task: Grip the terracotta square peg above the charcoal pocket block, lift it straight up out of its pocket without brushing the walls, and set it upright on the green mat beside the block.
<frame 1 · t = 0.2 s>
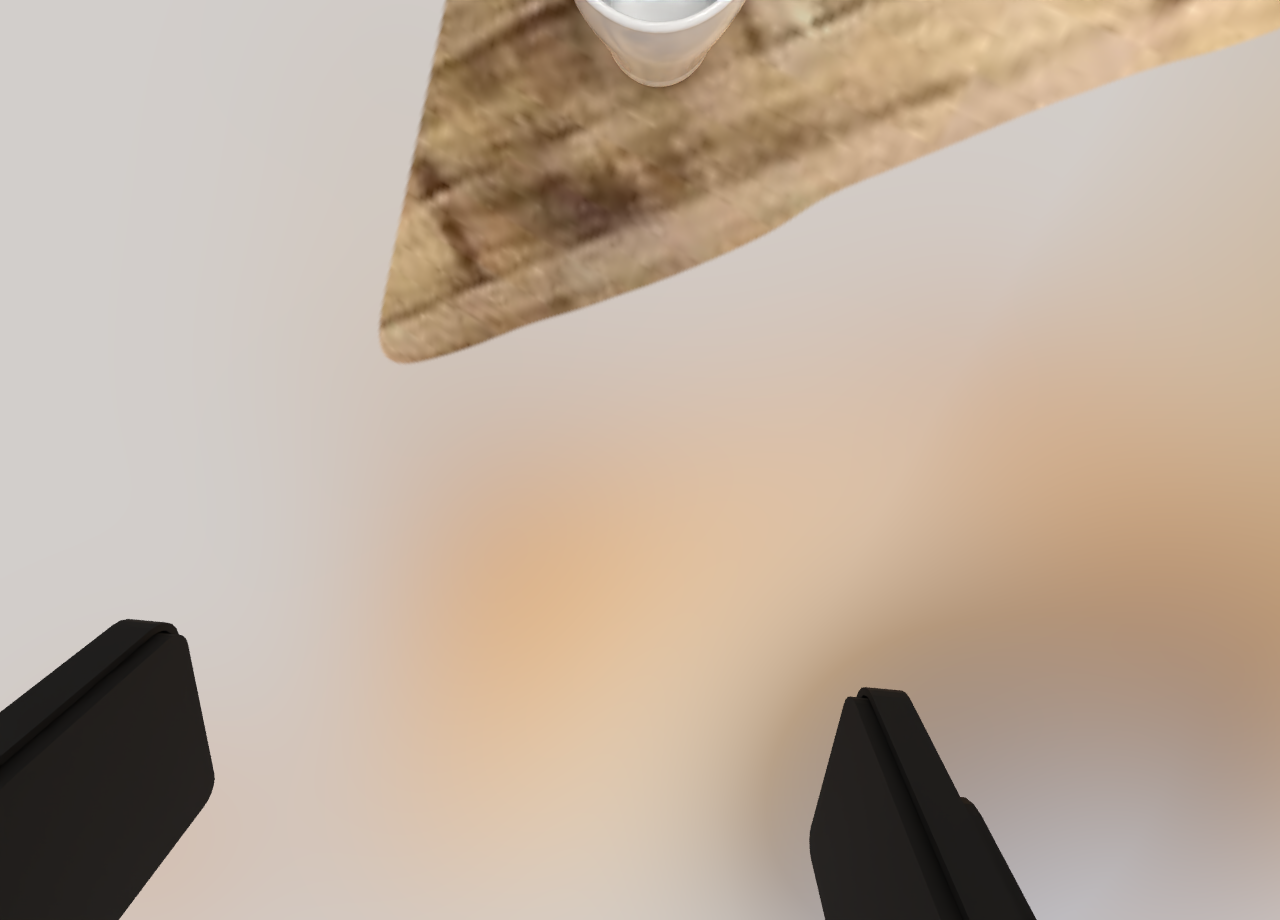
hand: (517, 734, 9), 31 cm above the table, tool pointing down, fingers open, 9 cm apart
drinking glass: (659, 29, 32), on the table
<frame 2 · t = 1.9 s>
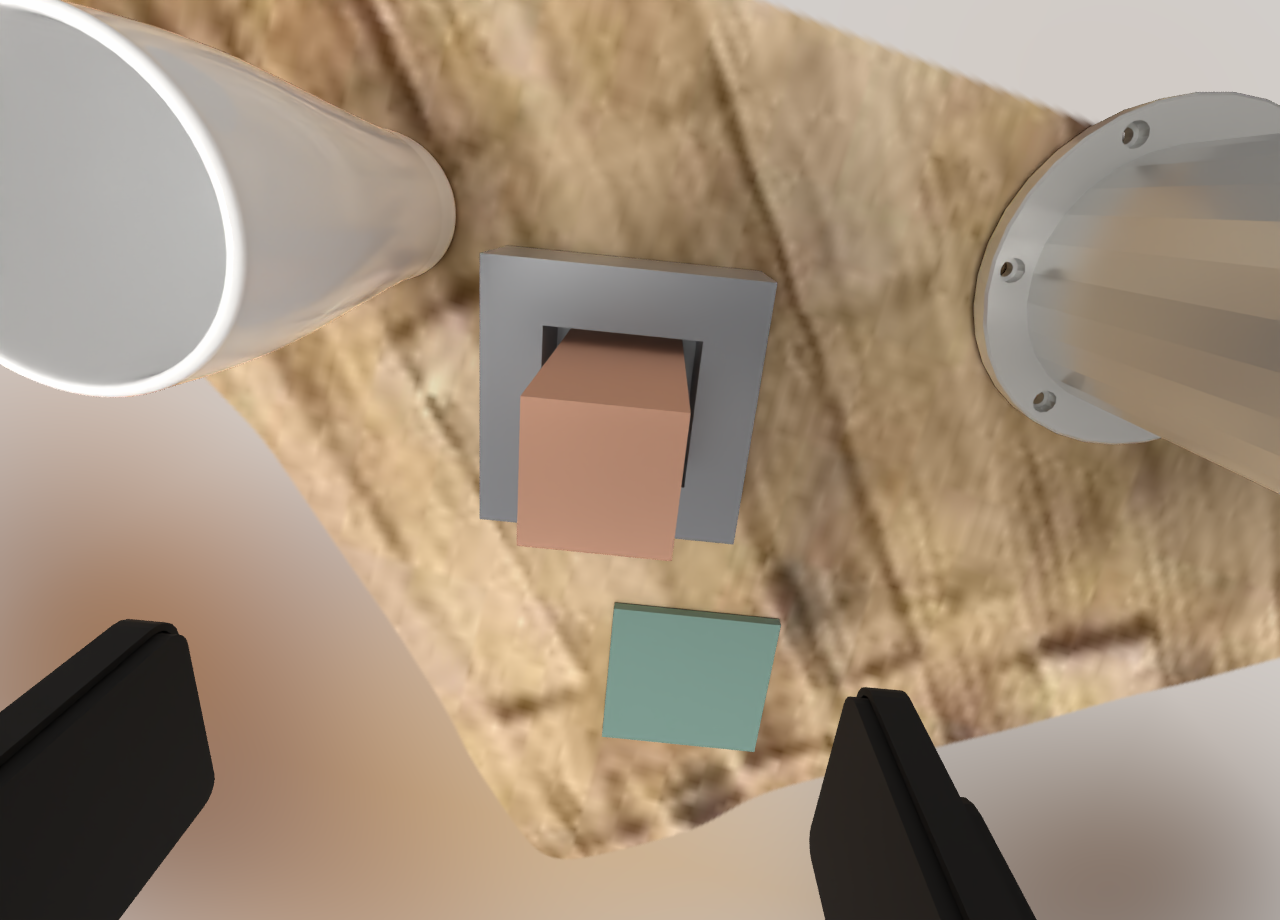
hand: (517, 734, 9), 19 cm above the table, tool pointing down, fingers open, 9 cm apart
mat: (687, 676, 33), on the table
peg: (622, 384, 27), resting on pocket block
pocket block: (623, 381, 27), on the table
drinking glass: (394, 207, 25), on the table
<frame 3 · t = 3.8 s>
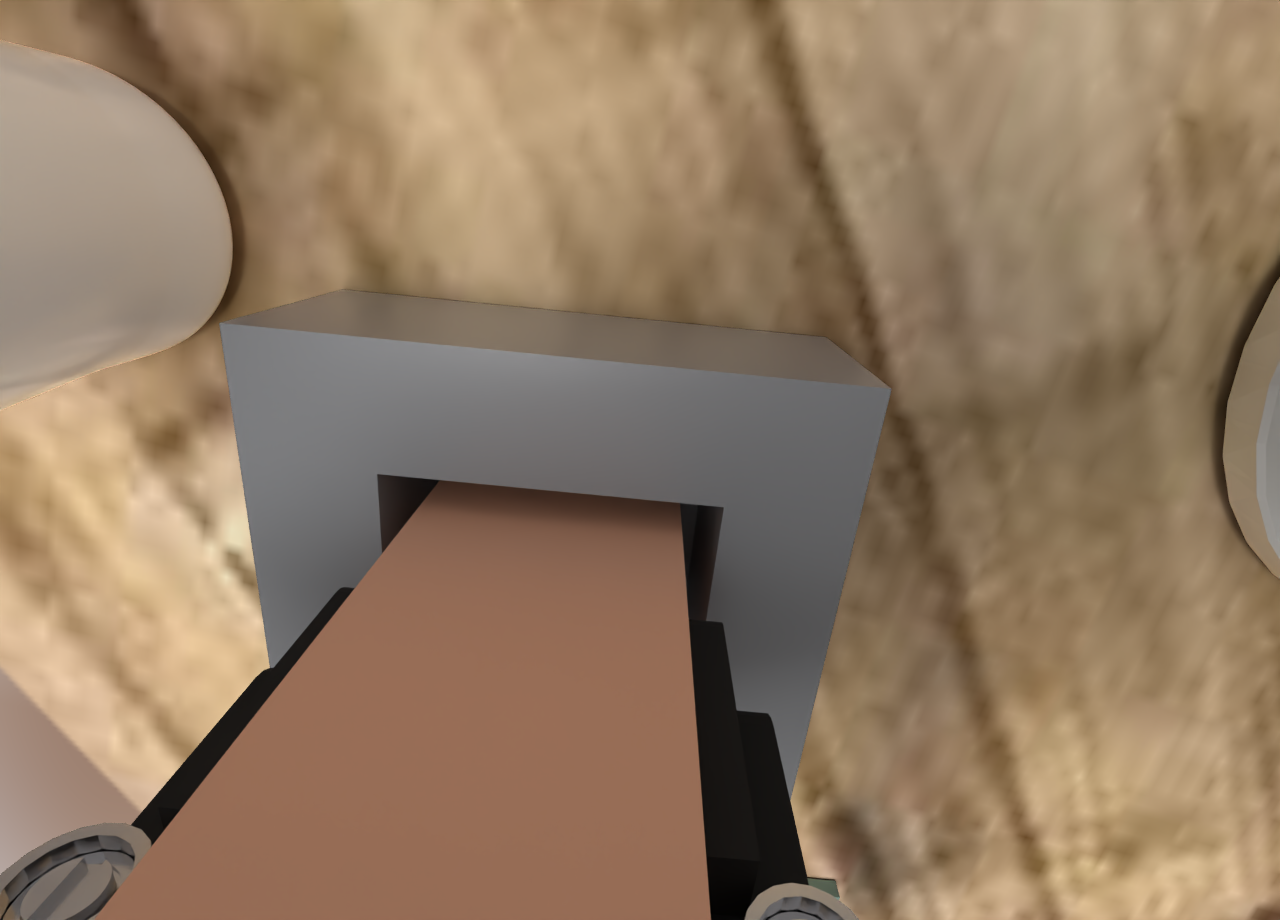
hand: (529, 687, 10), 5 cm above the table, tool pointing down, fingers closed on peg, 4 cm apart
peg: (569, 538, 15), point 1 cm above the table, touching gripper, pocket block
pocket block: (572, 528, 15), on the table
drinking glass: (121, 216, 13), on the table
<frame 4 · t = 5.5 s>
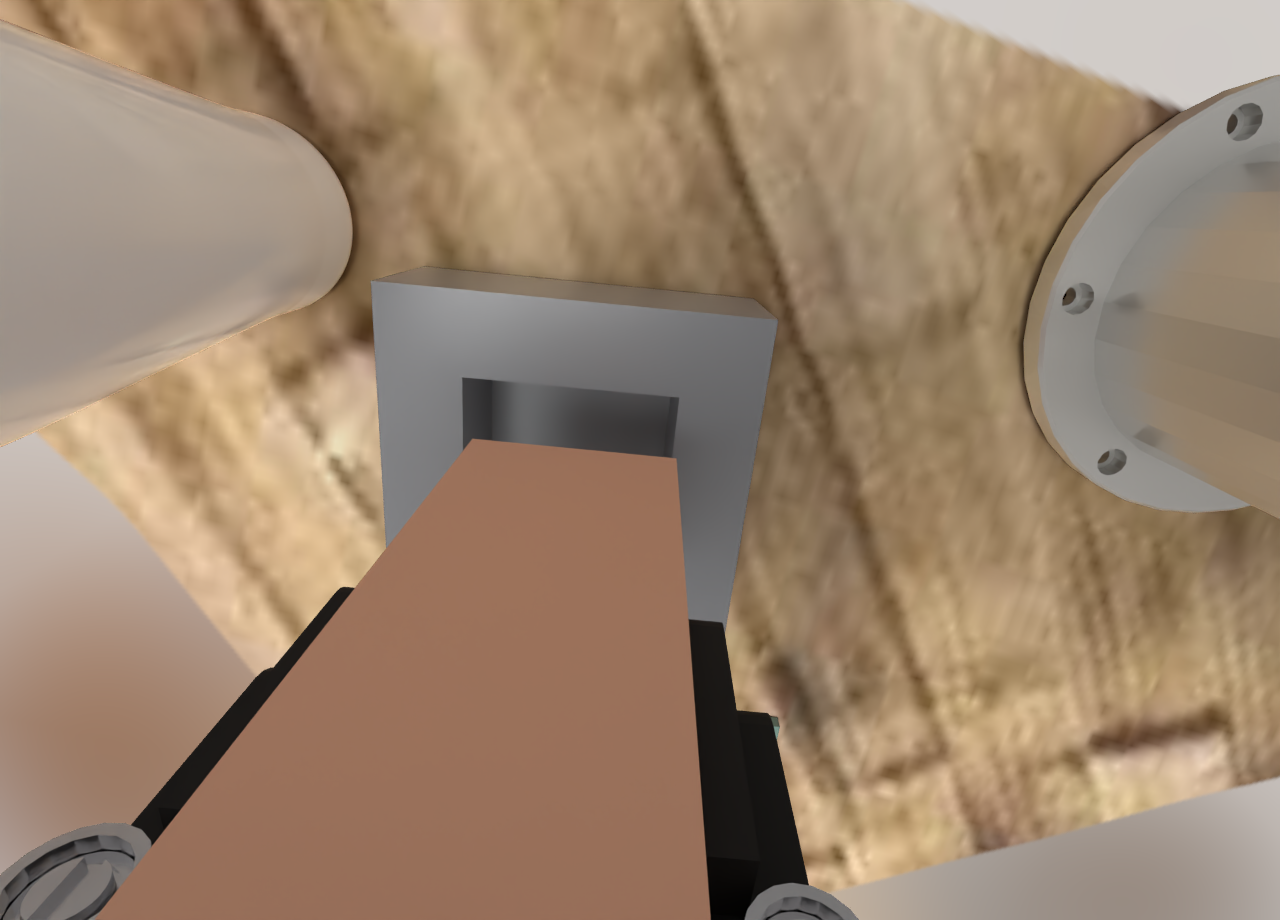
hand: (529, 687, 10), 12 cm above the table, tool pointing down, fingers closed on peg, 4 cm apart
peg: (569, 538, 15), point 7 cm above the table, touching gripper
pocket block: (579, 437, 21), on the table
drinking glass: (273, 216, 19), on the table
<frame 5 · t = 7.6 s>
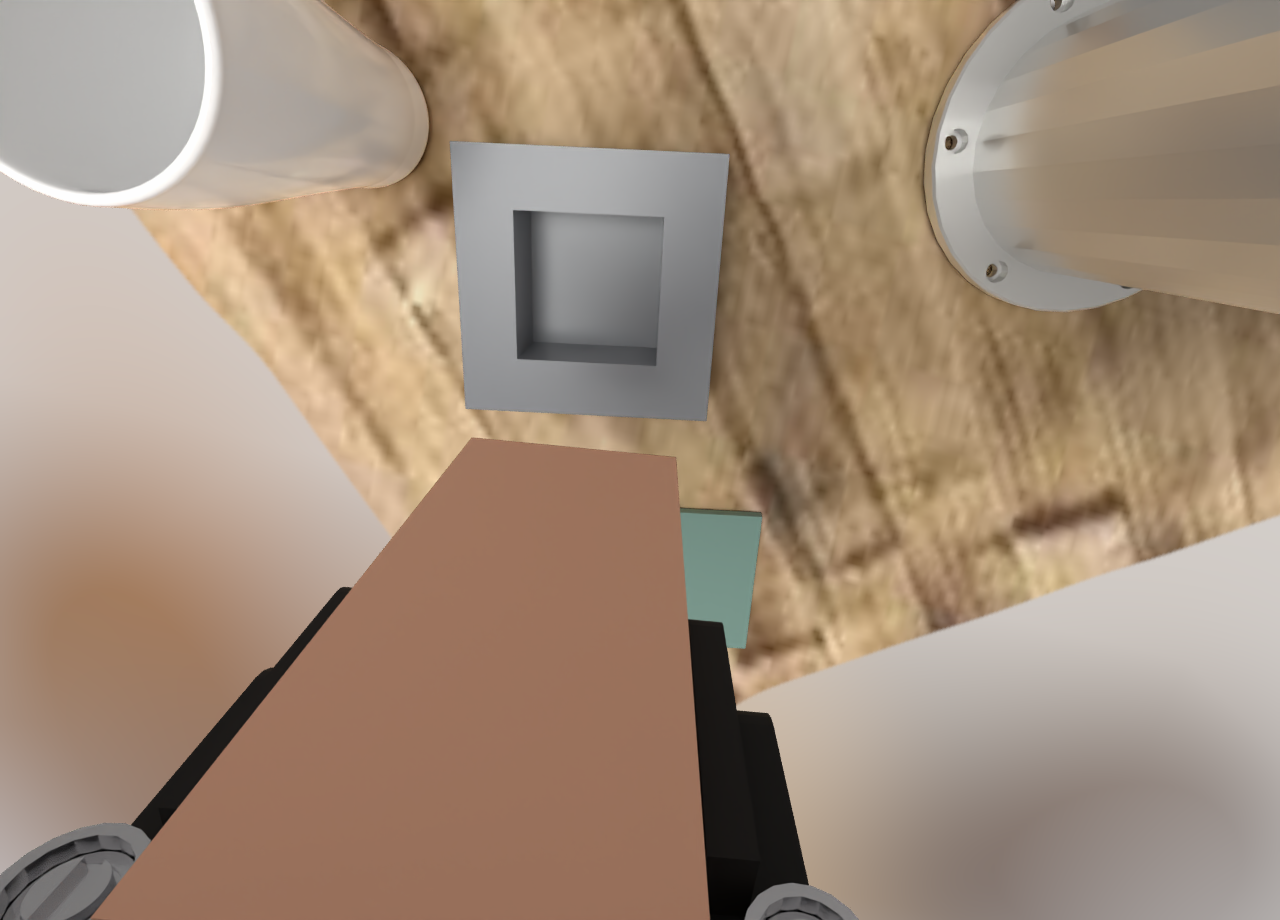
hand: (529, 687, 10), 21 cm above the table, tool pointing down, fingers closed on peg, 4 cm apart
mat: (676, 576, 34), on the table
peg: (568, 537, 15), point 17 cm above the table, touching gripper
pocket block: (596, 279, 29), on the table
drinking glass: (371, 118, 27), on the table
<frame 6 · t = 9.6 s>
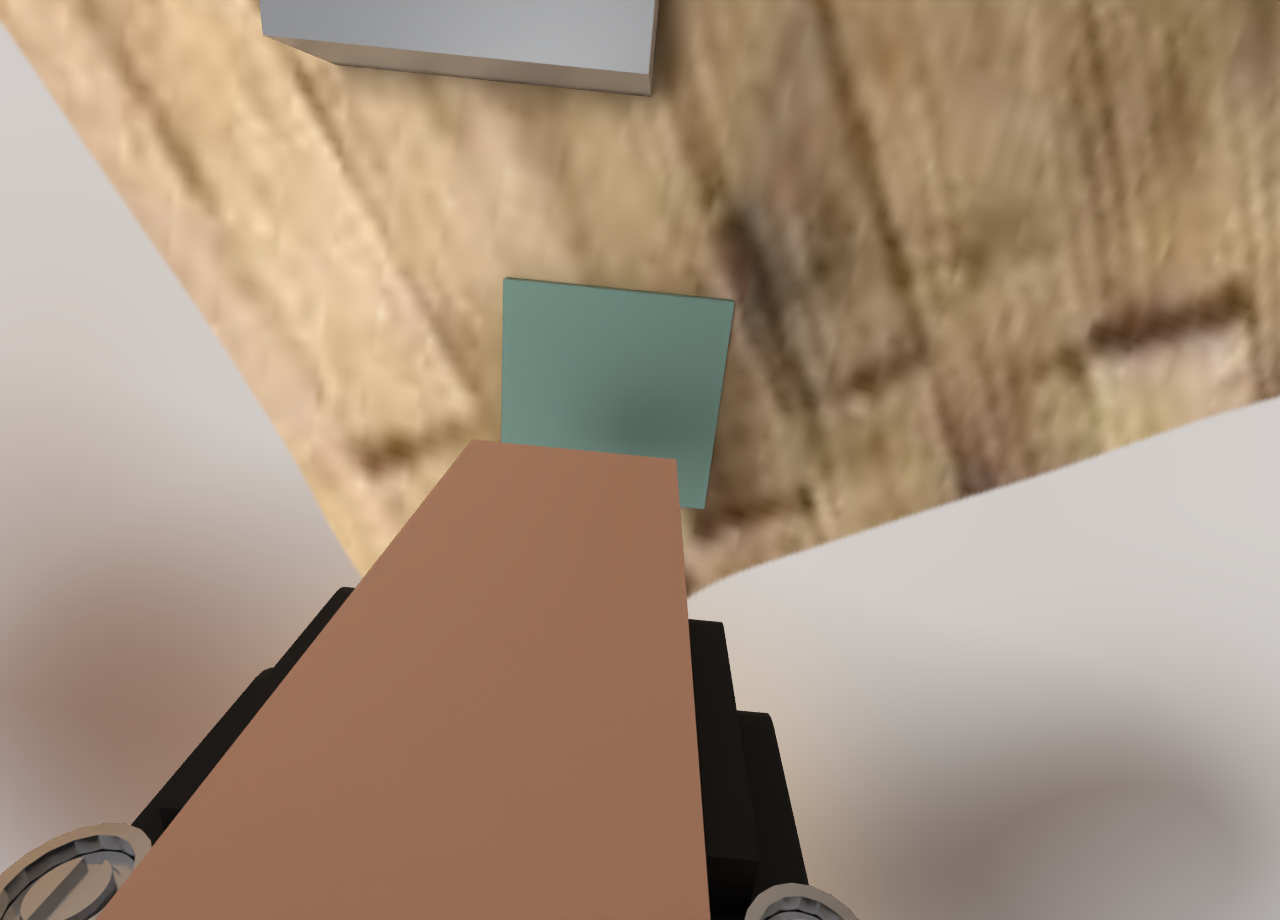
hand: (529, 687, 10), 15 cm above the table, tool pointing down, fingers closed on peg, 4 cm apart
mat: (611, 397, 24), on the table
peg: (568, 539, 15), point 10 cm above the table, touching gripper
when the fingers open (7 cm above the table, at t = 11.4 s): peg drops 1 cm, resting on mat.
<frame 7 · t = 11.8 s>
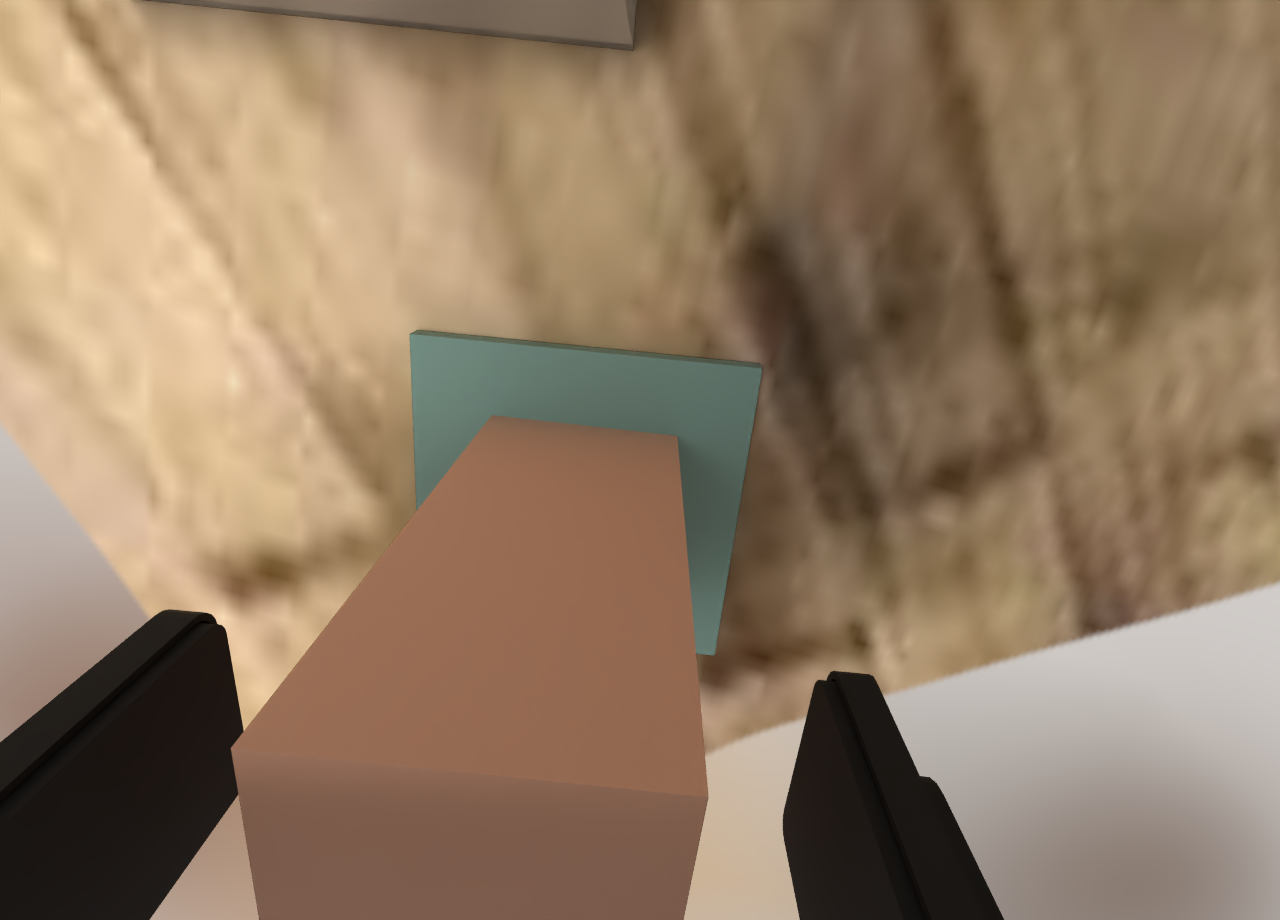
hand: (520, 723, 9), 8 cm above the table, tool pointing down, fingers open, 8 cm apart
mat: (578, 501, 17), on the table
peg: (577, 508, 16), resting on mat
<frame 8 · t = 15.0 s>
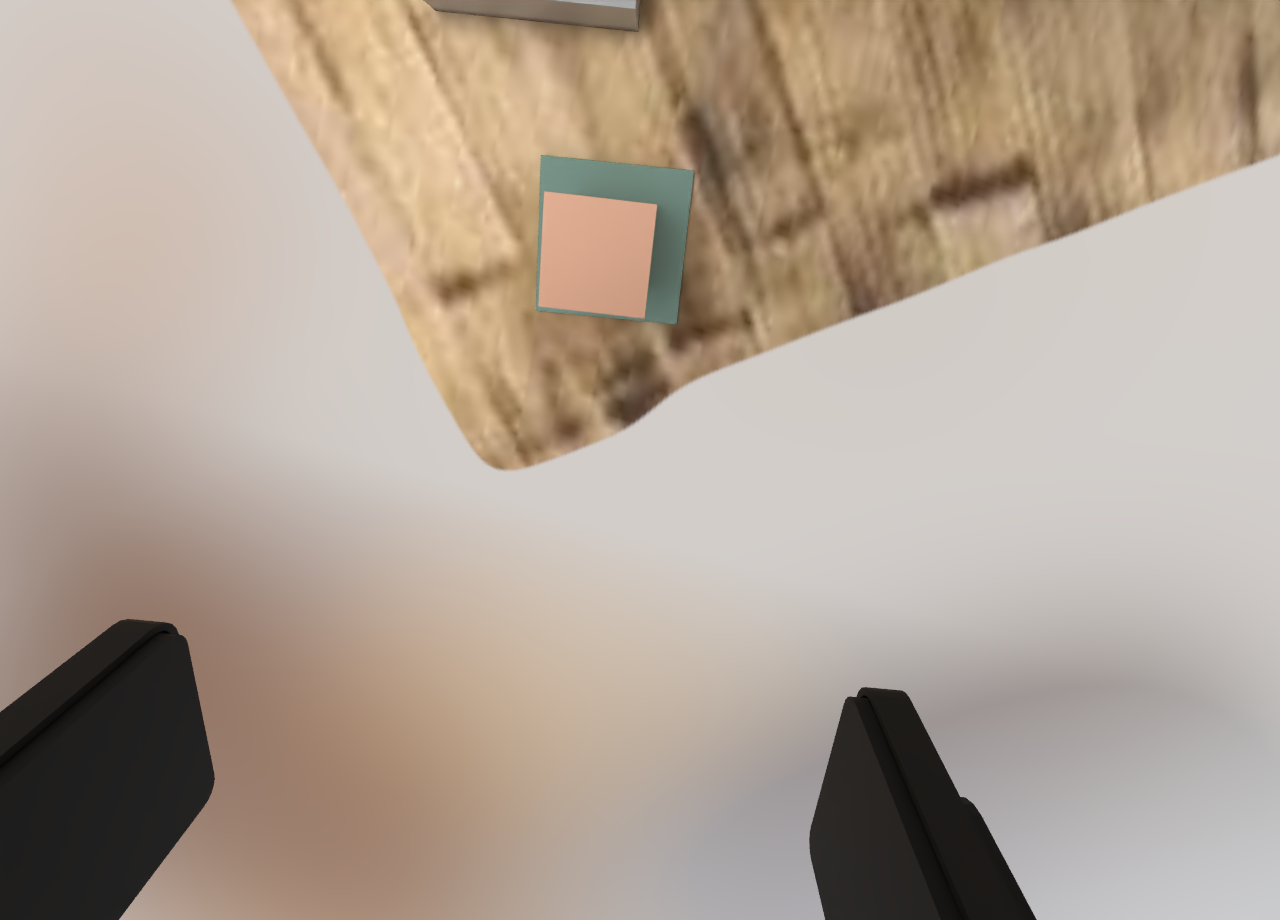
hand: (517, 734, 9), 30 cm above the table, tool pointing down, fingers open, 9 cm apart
mat: (612, 243, 36), on the table
peg: (612, 242, 35), resting on mat
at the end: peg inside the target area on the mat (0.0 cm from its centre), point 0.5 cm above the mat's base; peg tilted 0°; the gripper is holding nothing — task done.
